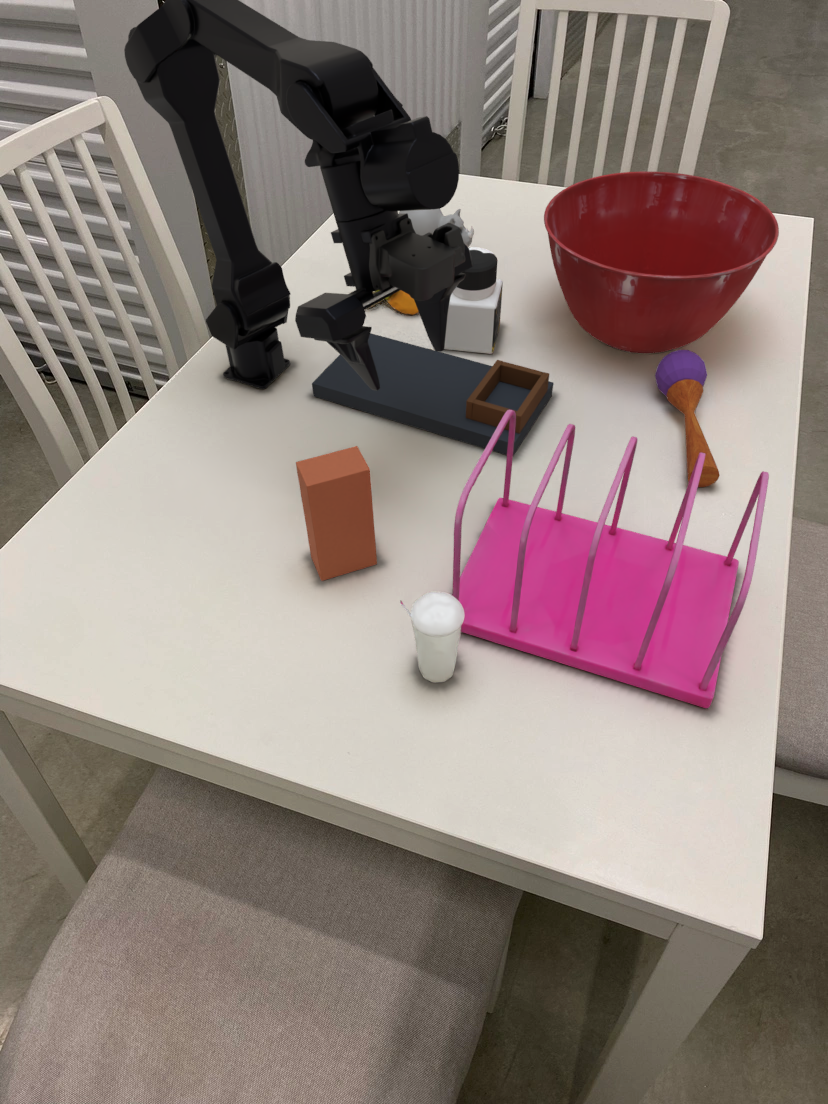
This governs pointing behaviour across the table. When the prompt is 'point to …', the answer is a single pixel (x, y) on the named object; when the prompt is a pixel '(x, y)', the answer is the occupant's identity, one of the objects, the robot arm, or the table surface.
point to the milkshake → (436, 633)
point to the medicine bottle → (475, 306)
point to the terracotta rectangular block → (338, 511)
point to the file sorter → (602, 584)
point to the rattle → (401, 302)
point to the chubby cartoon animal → (437, 222)
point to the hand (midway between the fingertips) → (408, 369)
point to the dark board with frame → (440, 392)
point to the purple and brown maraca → (688, 405)
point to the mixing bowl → (655, 255)
